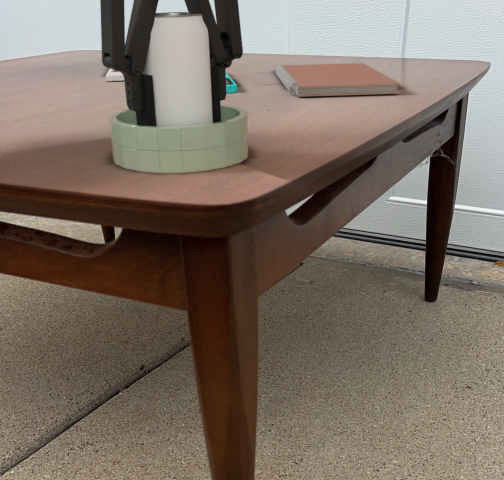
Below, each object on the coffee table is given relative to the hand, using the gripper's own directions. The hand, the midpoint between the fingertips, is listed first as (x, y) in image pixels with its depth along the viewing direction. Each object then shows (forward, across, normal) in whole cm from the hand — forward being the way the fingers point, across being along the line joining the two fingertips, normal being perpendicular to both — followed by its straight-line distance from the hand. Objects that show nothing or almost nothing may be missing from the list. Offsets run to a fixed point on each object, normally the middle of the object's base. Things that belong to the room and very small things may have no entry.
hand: (180, 138), depth 69 cm
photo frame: (+3, +29, +67) cm, 73 cm away
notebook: (+3, +47, +33) cm, 57 cm away
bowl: (+3, 0, 0) cm, 3 cm away
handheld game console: (+3, +29, +45) cm, 54 cm away
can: (+1, 0, 0) cm, 1 cm away
